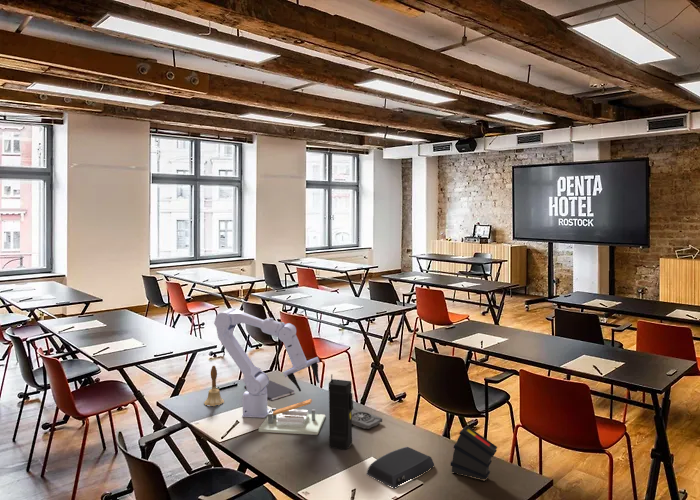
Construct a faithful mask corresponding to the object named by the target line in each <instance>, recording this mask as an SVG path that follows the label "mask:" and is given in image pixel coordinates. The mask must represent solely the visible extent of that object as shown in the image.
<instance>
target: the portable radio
mask: <svg viewBox="0 0 700 500" xmlns="http://www.w3.org/2000/svg"><path fill="white" fill-rule="evenodd" d="M330 376H331V377H330V381H329V382H328V395H329V396H328V401H329V402H328V404H329V405H328V407H329V411H328V412H329V413H328V415H329V416H328V417H329V420H328V421H329V436H328V438H329V439H328V440H329V441H328V442H329V444H328V445H329V448H333V449H338V450H347V449H349V448H350V446H351V445H352V444H353V432H352V431H353V424H352V410H353V408H354V402H353V399H354V398H353V392H352V381H351V380H345V379H344V380H343V379H335V378H333V374H330Z"/></svg>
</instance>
